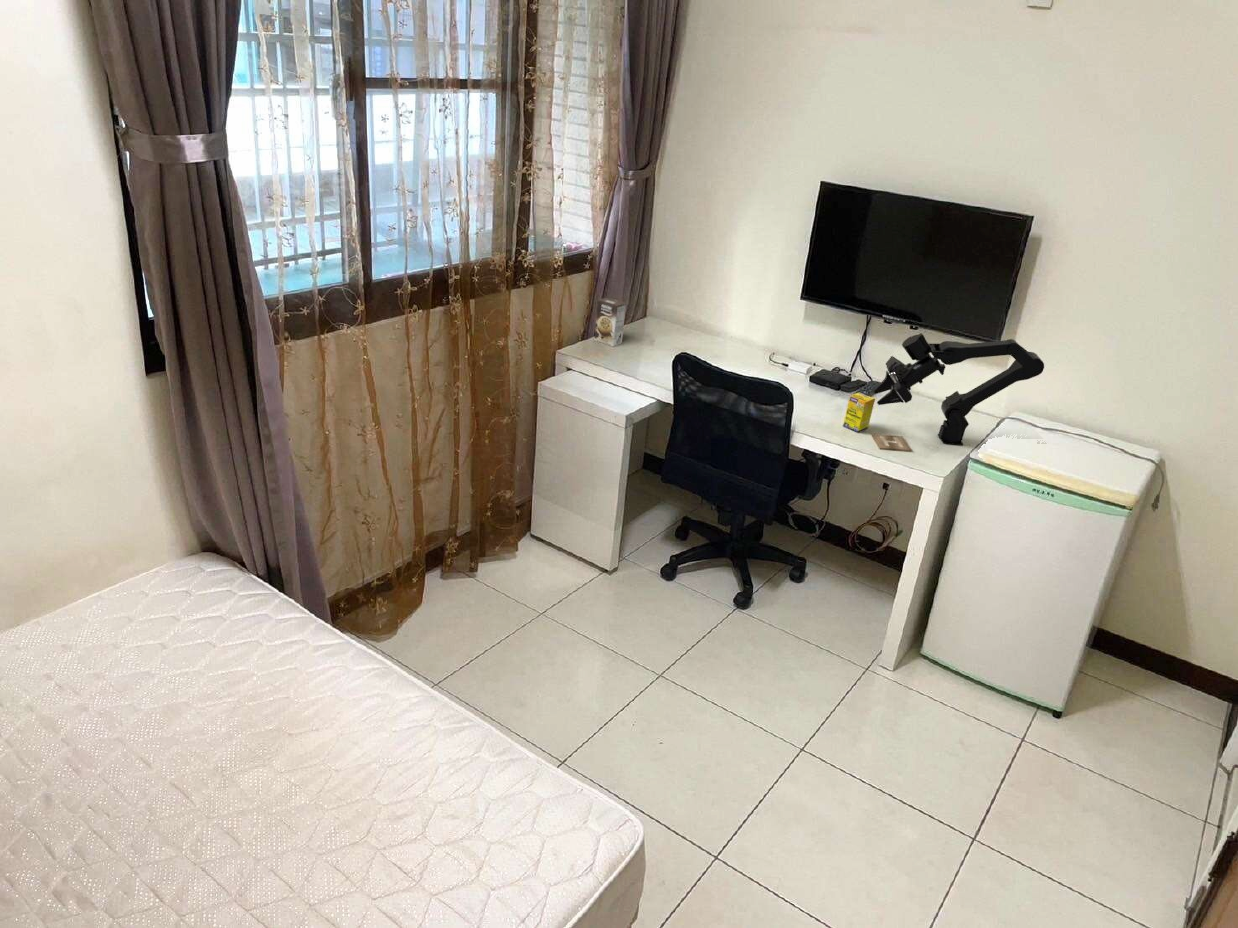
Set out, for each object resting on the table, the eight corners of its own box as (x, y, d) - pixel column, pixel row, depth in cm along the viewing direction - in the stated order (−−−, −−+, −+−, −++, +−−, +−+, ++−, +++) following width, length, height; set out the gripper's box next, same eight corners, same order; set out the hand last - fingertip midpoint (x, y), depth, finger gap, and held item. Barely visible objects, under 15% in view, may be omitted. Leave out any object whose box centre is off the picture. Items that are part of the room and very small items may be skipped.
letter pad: (902, 438, 284) (902, 436, 283) (911, 452, 275) (911, 450, 275) (871, 435, 283) (871, 433, 283) (879, 449, 274) (879, 447, 274)
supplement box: (842, 426, 287) (849, 395, 282) (852, 422, 291) (859, 391, 286) (858, 433, 284) (865, 402, 279) (868, 429, 288) (875, 398, 283)
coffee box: (593, 340, 339) (596, 299, 332) (603, 336, 344) (606, 296, 336) (613, 347, 335) (616, 305, 327) (622, 343, 339) (626, 302, 332)
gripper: (901, 341, 282) (858, 368, 288) (910, 361, 266) (865, 390, 272) (919, 367, 285) (877, 394, 291) (930, 389, 269) (885, 417, 275)
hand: (875, 398), depth 282 cm, fingers open, 9 cm apart
